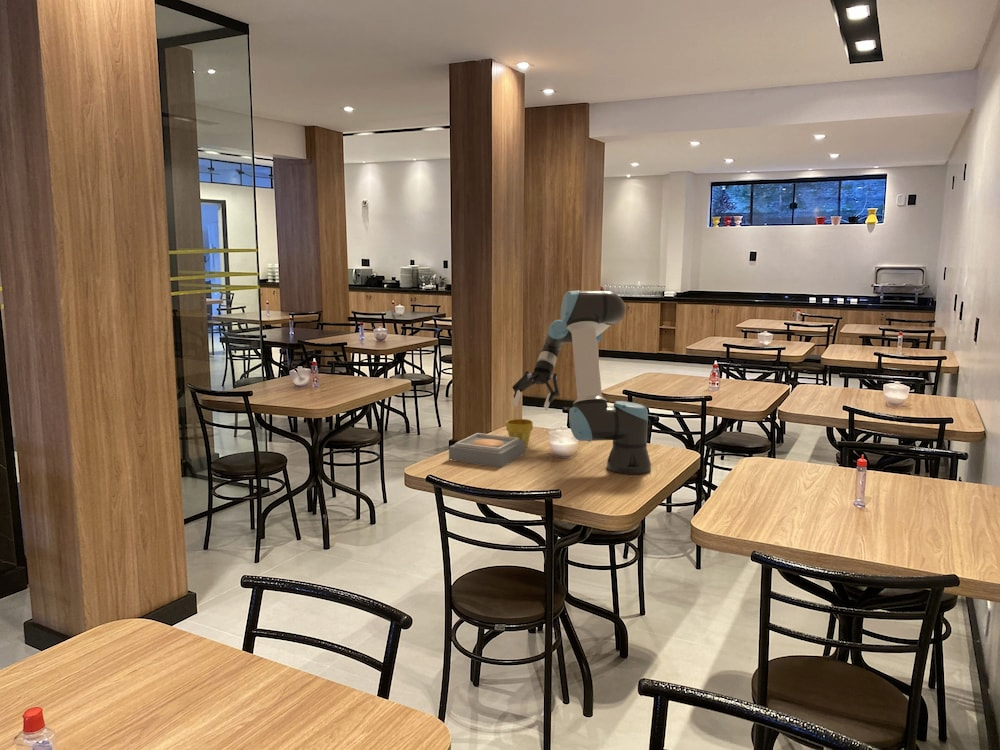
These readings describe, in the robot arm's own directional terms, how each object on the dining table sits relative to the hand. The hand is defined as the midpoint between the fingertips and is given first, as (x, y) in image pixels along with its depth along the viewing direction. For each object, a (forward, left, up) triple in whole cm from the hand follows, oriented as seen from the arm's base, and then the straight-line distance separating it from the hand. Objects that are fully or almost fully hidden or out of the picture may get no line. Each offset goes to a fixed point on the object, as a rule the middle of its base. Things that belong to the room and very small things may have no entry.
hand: (529, 406), depth 291 cm
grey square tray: (-6, +29, -14) cm, 33 cm away
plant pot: (-3, +9, -14) cm, 17 cm away
